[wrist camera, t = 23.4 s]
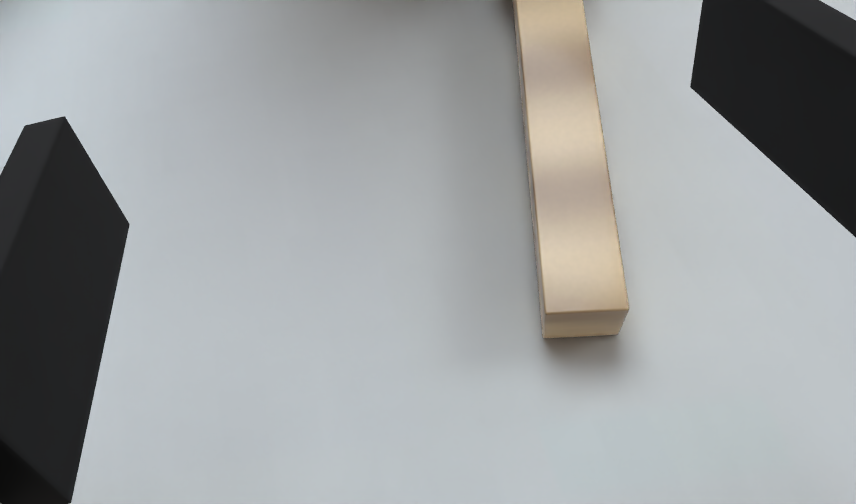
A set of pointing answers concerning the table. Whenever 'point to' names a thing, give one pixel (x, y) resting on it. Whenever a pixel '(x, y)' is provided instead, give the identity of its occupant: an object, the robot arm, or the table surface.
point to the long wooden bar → (568, 174)
